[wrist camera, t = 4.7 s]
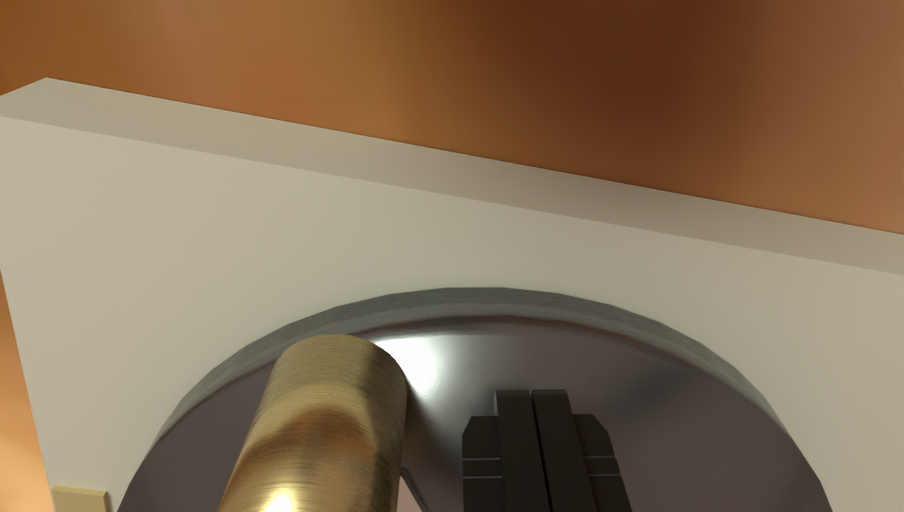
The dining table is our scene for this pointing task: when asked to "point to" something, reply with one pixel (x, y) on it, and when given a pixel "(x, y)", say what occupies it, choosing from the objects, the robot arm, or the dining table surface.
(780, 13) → the dining table surface
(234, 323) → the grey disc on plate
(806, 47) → the dining table surface
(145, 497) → the dark grey turntable
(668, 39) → the dining table surface
